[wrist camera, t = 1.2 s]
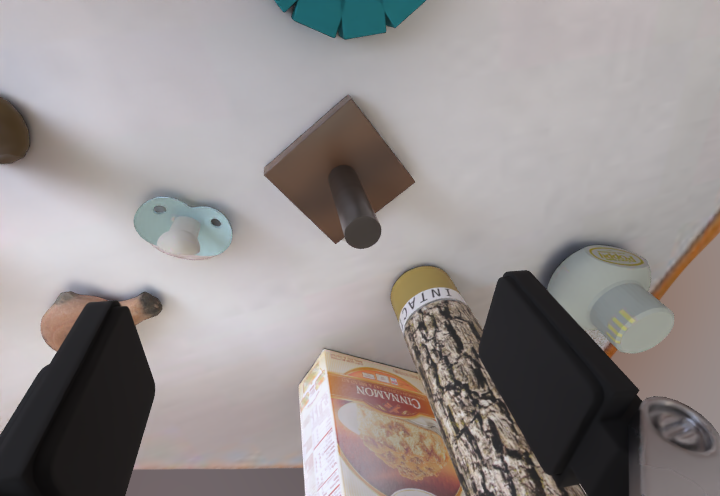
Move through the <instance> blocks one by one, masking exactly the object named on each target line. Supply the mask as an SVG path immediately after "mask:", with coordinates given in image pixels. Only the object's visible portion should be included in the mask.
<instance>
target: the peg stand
mask: <svg viewBox="0 0 720 496" xmlns="http://www.w3.org/2000/svg"><path fill="white" fill-rule="evenodd" d="M264 176H265V177H267V178H268V179H269V180H270V181H271V182H272V183H273V184H274V185H275V186H276V187H277V188H278V189H279V190H280V191H281V192H282V193H283V194H284V195H285V196H286V197H287V198H288V199H289V200H290V201H291V202H292V203H293V204H295V205H296V206H297V207H298V208H299V209H300V210H301V211H302V212H303V213H304V214H305V215H306V216H307V217H308V218H309V219H310V220H311V221H312V222H313V223H314V224H315V225H316V226H317V227H318V228H319V229H320V230H322V231H323V232H324V233H325V234H326V235H327V236H328V237H329V238H330V239H331V240H332V241H333V242H334V243H335V244H336V243H338V242H339V241H340V240H342V239H343V238H344V237H345V240H346V242H347V243H348V244H349V245H350V246H352V247H354V248H358V249H364V248H368V247H370V246H372V245H374V244H375V243H376V242H377V241H378V239H379V238H380V235H381V226H380V224H379V222H378V219H377V217H376V215H375V213H376V212H378V211H379V210H380V209H381V208H383V207H384V206H385V205H387V204H388V203H389V202H390V201H392V200H393V199H394V198H396V197H397V196H398V195H399V194H401V193H402V192H403V191H405V190H406V189H407V188H408V187H410V186H411V185H412V184H414V183H415V181H414V179H413V178H412V177H411V175H410V174H409V173H408V171H407V170H406V169H405V168H404V166H403V165H402V164H401V162H400V161H399V160H398V158H397V157H396V156H395V154H394V153H393V152H392V151H391V149H390V148H389V147H388V145H387V144H386V143H385V141H384V140H383V139H382V137H381V136H380V135H379V134H378V132H377V131H376V130H375V128H374V127H373V126H372V124H371V123H370V122H369V120H368V119H367V118H366V117H365V115H364V114H363V113H362V111H361V110H360V109H359V107H358V106H357V105H356V104H355V102H354V101H353V100H352V98H351V97H350V96H349V95H347V96H346V97H345V98H344V99H343V100H341V101H340V102H339V103H338V104H337V105H336V106H335V107H333V108H332V109H331V110H330V111H329V112H328V113H327V114H325V115H324V116H323V117H322V118H321V119H320V120H318V121H317V122H316V123H315V124H314V125H313V126H312V127H310V128H309V129H308V130H307V131H306V132H305V133H304V134H302V135H301V136H300V137H299V138H298V139H297V140H296V141H294V142H293V143H292V144H291V145H290V146H289V147H288V148H286V149H285V150H284V151H283V152H282V153H281V154H280V155H278V156H277V157H276V158H275V159H274V160H273V161H272V162H270V163H269V164H268V165H267V166H266V167H265V168H264Z"/></svg>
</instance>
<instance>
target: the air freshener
mask: <svg viewBox="0 0 720 496" xmlns="http://www.w3.org/2000/svg"><path fill="white" fill-rule="evenodd" d="M650 283H651V271H650V267H649V264H648V262H647V261H646V260H645V259H644V258H643V257H641V256H639V255H637V254H635V253H633V252H630V251H627V250H624V249H620V248H616V247H611V246H604V245H591V246H587V247H585V248H583V249H580V250H579V251H577V252H575V253H573V254H572V255H571V256H569V257H568V258H567V259H565V260H564V261H563V262H562V263H561V264H560V265H559V267H558V268H557V269H556V270H555V272H554V273H553V275H552V277H551V279H550V281H549V284H548V288H547V291H548V292H549V293H550V294H551V295H552V296H553V297H554V298H555V299H556V300H557V301H558V302H559V304H560V305H561V306H562V307H563V308H564V309H565V310H566V311H567V312H568V313H569V314H570V315H571V317H572V318H573V319H574V320H575V321H576V322H577V323H578V324H579V325H580V326H581V327H582V328H583V330H599V331H600V332H601V333H602V334H603V335H604V336H605V337H606V338H607V339H608V340H609V341H610V342H611V343H612V344H613V345H614V346H615V347H616V348H617V349H618V350H619V351H621V352H623V353H639V352H643V351H646V350H648V349H650V348H652V347H654V346H655V345H657V344H658V343H660V342H661V341H662V340H663V339H664V338H665V337H666V336H667V335H668V334H669V333H670V331H671V329H672V327H673V324H674V315H673V312H672V311H671V310H670V309H668V308H667V307H666V306H665V305H664V304H662V303H661V302H660V301H659V300H658V299H656V298H655V297H654V296H653V295H651V294H650V293H649V292H648V291H649V288H650Z"/></svg>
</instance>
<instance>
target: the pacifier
mask: <svg viewBox="0 0 720 496" xmlns="http://www.w3.org/2000/svg"><path fill="white" fill-rule="evenodd" d="M156 206H164V207H165V208H166V211H165V212H162V213H158V212H156V211H155V210H154V207H156ZM212 219H217V220H219V221H220V223H221V225H220V226H215V225H213V224H212V222H211V220H212ZM134 226H135V228H136V231H137V232H138V233H139V235H140V236H141V237H142V238H143V239H145V240H146V241H147V242H149V243H150V244H152V245H153V246H154V247H155V248H156V249H158V250H160V251H161V252H163V253H166V254H168V255H170V256H174V257H177V258H181V259H189V260H202V259H207V258H211V257H213V256H216V255H218V254H220V253H222V252H223V251H225V250H226V249H227V248H228V247H229V245H230V244H231V240H232V228H231V225H230V222H229V221H228V219H227V218H226V217H225V216H224V215H223V214H222V213H221V212H220V211H218V210H216V209H214V208H211V207H206V206H200V207H190V206H188V205H187V204H186V203H184V202H182V201H180V200H178V199H175V198H171V197H157V198H154V199H151V200H148V201H147V202H145V203H144V204H143V205H142V206H141V207H140V208H139V209H138V210H137V212H136V214H135V216H134Z"/></svg>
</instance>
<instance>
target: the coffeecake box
mask: <svg viewBox="0 0 720 496" xmlns="http://www.w3.org/2000/svg"><path fill="white" fill-rule="evenodd" d="M299 403H300V419H301V434H302V449H303V465H304V481H305V496H465V495H464V492H463V490H462V487H461V485H460V482H459V479H458V477H457V474H456V472H455V469H454V466H453V464H452V461H451V458H450V456H449V453H448V451H447V448H446V445H445V443H444V440H443V437H442V435H441V432H440V430H439V427H438V424H437V422H436V419H435V417H434V414H433V411H432V409H431V406H430V403H429V401H428V398H427V396H426V393H425V390H424V388H423V385H422V382H421V380H420V377H419V375H418V373H414V372H410V371H406V370H403V369H399V368H395V367H391V366H387V365H384V364H380V363H376V362H372V361H368V360H365V359H361V358H357V357H353V356H350V355H346V354H342V353H338V352H335V351H331V350H327V349H324V350H323V351H322V353H321V354H320V356H319V357H318V359H317V360H316V362H315V364H314V365H313V367H312V368H311V369H310V371H309V372H308V373H307V375H306V376H305V377H304V379H303V380H302V382H301V383H300V385H299Z"/></svg>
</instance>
